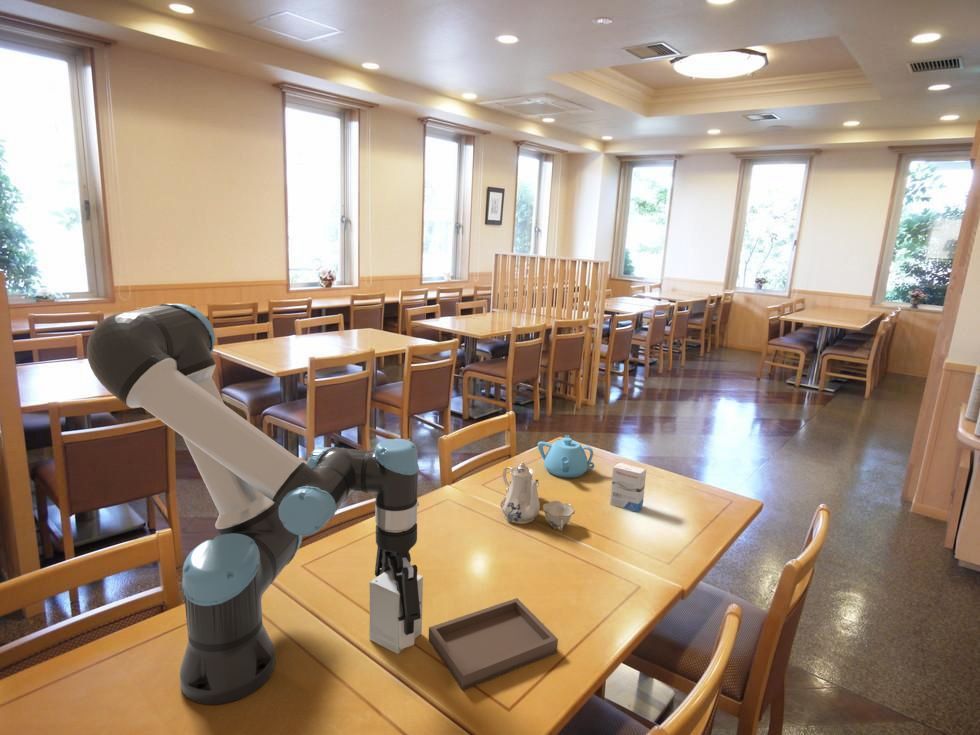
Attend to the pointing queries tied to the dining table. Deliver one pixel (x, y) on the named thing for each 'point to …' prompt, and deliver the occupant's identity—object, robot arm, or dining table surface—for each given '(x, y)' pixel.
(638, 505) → the ink box
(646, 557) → the dining table surface
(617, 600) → the dining table surface
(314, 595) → the dining table surface
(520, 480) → the chinaware
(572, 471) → the teapot
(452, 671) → the tray
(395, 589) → the supplement box
